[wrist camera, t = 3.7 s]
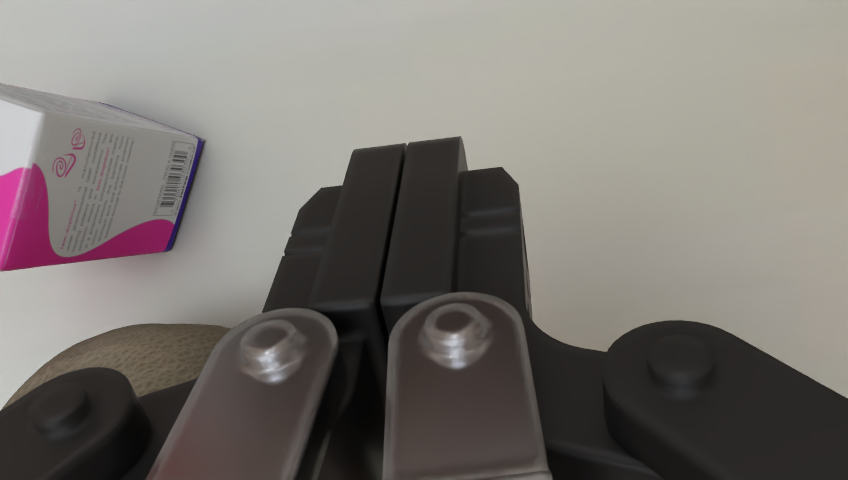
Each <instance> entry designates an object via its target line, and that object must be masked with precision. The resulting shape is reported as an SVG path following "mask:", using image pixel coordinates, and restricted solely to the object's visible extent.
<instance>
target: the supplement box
mask: <svg viewBox="0 0 848 480" xmlns="http://www.w3.org/2000/svg"><path fill="white" fill-rule="evenodd" d="M203 143H204V140H203V139H201V138H199V137H196V136H193V135H191V134H188V133H185V132H182V131H180V130H177V129H174V128H171V127H169V126H166V125H163V124H160V123H158V122H155V121H152V120H149V119H146V118H144V117H141V116H138V115H135V114H132V113H130V112H127V111H124V110H121V109H119V108H116V107H113V106H110V105H107V104H104V103H99V102H93V101H88V100H82V99H77V98H72V97H66V96H62V95H57V94H51V93H47V92H42V91H37V90H32V89H27V88H22V87H16V86H11V85H6V84H1V83H0V271H10V270H18V269H26V268H33V267H40V266H48V265H58V264H66V263H75V262H83V261H91V260H100V259H108V258H117V257H125V256H133V255H142V254H151V253H160V252H167V251H170V250H171V248H172V245H173V242H174V239H175V235H176V232H177V229H178V226H179V223H180V219H181V216H182V213H183V210H184V206H185V203H186V200H187V196H188V193H189V190H190V186H191V183H192V180H193V176H194V173H195V170H196V166H197V163H198V160H199V156H200V153H201V149H202V147H203Z"/></svg>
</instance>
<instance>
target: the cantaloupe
mask: <svg viewBox="0 0 848 480" xmlns="http://www.w3.org/2000/svg"><path fill="white" fill-rule="evenodd" d="M230 330H232V329H230V328H226V327H221V326H213V325H198V324H138V325H131V326H127V327H123V328H118V329H114V330H111V331H108V332H106V333H103V334H100V335H97V336H95V337H92V338H89V339H87V340H84V341H82V342H79V343H77V344H75V345H74V346H72V347H70V348H68V349H66V350H64V351H63V352H61V353H60V354H58V355H57V356H55V357H54V358H53V359H51V360H50V361H49V362H47V363H46V364H44V365H43V366H42V367H41V368H40V369H39V370H38V371H37V372H36V373H34V374H33V375H32V376H31V377H30V378H29V379H28V380H27V381H26V382H25V383H24V384H23V385H22V386H21V387H20V388H19V389H18V390H17V391H16V393H15V394H14V395H13V396H12V397H11V398H10V399H9V400H8V402H7V403H6V404H5V406H4V407H3V408H2V410H3V409H4V408H6V407H7V406H9V405H10V404H12V403H13V402H15V401H16V400H18V399H19V398H21V397H22V396H24V395H25V394H27V393H28V392H30V391H32V390H33V389H35V388H36V387H38V386H40V385H41V384H43V383H45V382H47V381H49V380H51V379H53V378H55V377H57V376H60V375H62V374H65V373H67V372H71V371H75V370H78V369H84V368H90V367H104V368H111V369H114V370H117V371H119V372H121V373H123V374H124V375H125V376H126V377H127V378H128V380H129V382H130V384H131V386H132V388H133V389H134V391H135V393H136V395H137V397H140V396H143V395H146V394H149V393H152V392H156V391H159V390H162V389H165V388H168V387H171V386H175V385H178V384H181V383H184V382H187V381H190V380H193V379H195V378H198V377H199V375H200V373H201V372H202V370H203V368H204V366H205V364H206V362H207V360H208V358H209V356H210V354H211V352H212V351H213V349H214V348H215V346H216V344H217V343H218V342H219V341H220V340H221V339H222V338H223V337H224V336H225V335H226V334H227V333H228V332H229V331H230Z"/></svg>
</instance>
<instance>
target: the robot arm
mask: <svg viewBox="0 0 848 480" xmlns="http://www.w3.org/2000/svg"><path fill="white" fill-rule="evenodd" d="M291 234H292V237H289V240H288V243H287V245H286V248H285V251H284V252H285V256H282V259H281V262H280V265H279V267H278V270H277V273H276V276H275V278H274V281H273V284H272V287H271V289H270V292H269V295H268V297H267V300H266V303H265V306H264V308H263V311H262V314H259V315H257V316H255V317H252V318H250V319H248V320H246V321H244V322H242V323H241V324H239V325H237V326H236V327H235V328H233V329H232V330H230V331H229V332H228V333H227V334H226V335H225V336H224V337H223V338H222V339H221V340H220V341H219V342H218V343H217V344H216V346H215V348H214V349H213V351H212V352H211V354H210V356H209V358H208V360H207V362H206V364H205V366H204V368H203V370H202V372H201V373H200V375H199V377H198V378H195V379H193V380H190V381H187V382H184V383H181V384H178V385H175V386H171V387H168V388H165V389H162V390H159V391H156V392H152V393H149V394H146V395H143V396H140V397H137V395H136V393H135V391H134V389H133V388H132V386H131V384H130V382H129V380H128V378H127V377H126V376H125V375H124V374H123V373H121V372H119V371H117V370H114V369H111V368H104V367H90V368H84V369H78V370H75V371H71V372H67V373H65V374H62V375H60V376H57V377H55V378H53V379H51V380H49V381H47V382H45V383H43V384H41V385H40V386H38V387H36V388H35V389H33V390H32V391H30V392H28V393H27V394H25V395H24V396H22V397H21V398H19V399H18V400H16V401H15V402H13V403H12V404H10V405H9V406H7V407H6V408H4V409H3V410H1V411H0V480H848V399H847V398H845V397H843V396H842V395H840V394H838V393H836V392H835V391H833V390H831V389H829V388H827V387H826V386H824V385H822V384H820V383H818V382H817V381H815V380H813V379H811V378H810V377H808V376H806V375H804V374H802V373H801V372H799V371H797V370H795V369H793V368H792V367H790V366H788V365H786V364H784V363H783V362H781V361H779V360H777V359H776V358H774V357H772V356H770V355H768V354H767V353H765V352H763V351H761V350H759V349H758V348H756V347H754V346H752V345H750V344H749V343H747V342H745V341H743V340H742V339H740V338H738V337H736V336H734V335H733V334H731V333H729V332H726V331H724V330H722V329H720V328H717V327H714V326H711V325H708V324H703V323H698V322H692V321H682V320H680V321H661V322H655V323H650V324H646V325H643V326H640V327H638V328H635V329H633V330H631V331H629V332H627V333H626V334H624V335H622V336H621V337H620V338H619V339H617V340H616V341H615V342H614V343H613V344H612V346H611V347H610V348H609V349H608V351H607V352H602V351H596V350H590V349H584V348H579V347H575V346H571V345H568V344H565V343H562V342H560V341H558V340H556V339H554V338H552V337H550V336H549V335H547V334H546V333H544V332H543V331H542V330H541V329H539V328H538V327H537V326H536V325H535V323H534V322H533V321H532V308H531V294H530V279H529V269H528V261H527V252H526V244H525V236H524V227H523V219H522V211H521V203H520V194H519V186H518V184H517V183H516V182H515V181H514V180H513V179H512V177H511V176H510V175H509V174H508V173H507V172H506V171H505V170H504V169H503V168H502V167H497V168H488V169H480V170H471V171H468V168H467V162H466V155H465V150H464V145H463V141H462V138H461V136H459V137H451V138H443V139H435V140H427V141H418V142H410V143H409V144H408V146H407V144H406V143H403V144H395V145H387V146H379V147H371V148H362V149H355V150H354V151H353V152H352V155H351V159H350V162H349V165H348V169H347V172H346V176H345V179H344V182H343V186H334V187H325V188H321V189H320V190H319V191H318V192H317V193H316V194H315V195H314V196H313V197H312V198H311V199H310V200H309V201H308V202H307V203H306V204H305V205H304V206H303V207H302V208H301V209H300V210H299V212H298V215H297V218H296V221H295V223H294V226H293V229H292V232H291Z"/></svg>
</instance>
